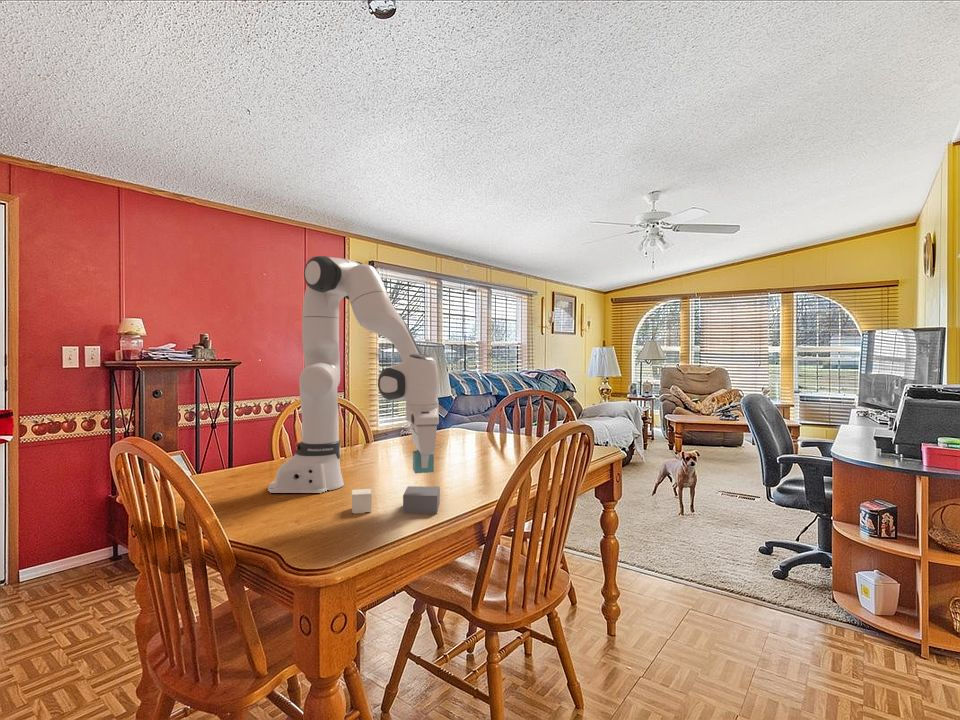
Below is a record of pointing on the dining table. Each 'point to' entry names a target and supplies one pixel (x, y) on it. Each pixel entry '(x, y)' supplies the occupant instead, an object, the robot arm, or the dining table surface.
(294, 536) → the dining table surface
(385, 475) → the dining table surface
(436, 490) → the charcoal base block
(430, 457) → the teal cube
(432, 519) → the dining table surface
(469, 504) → the dining table surface
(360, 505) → the cream cube
